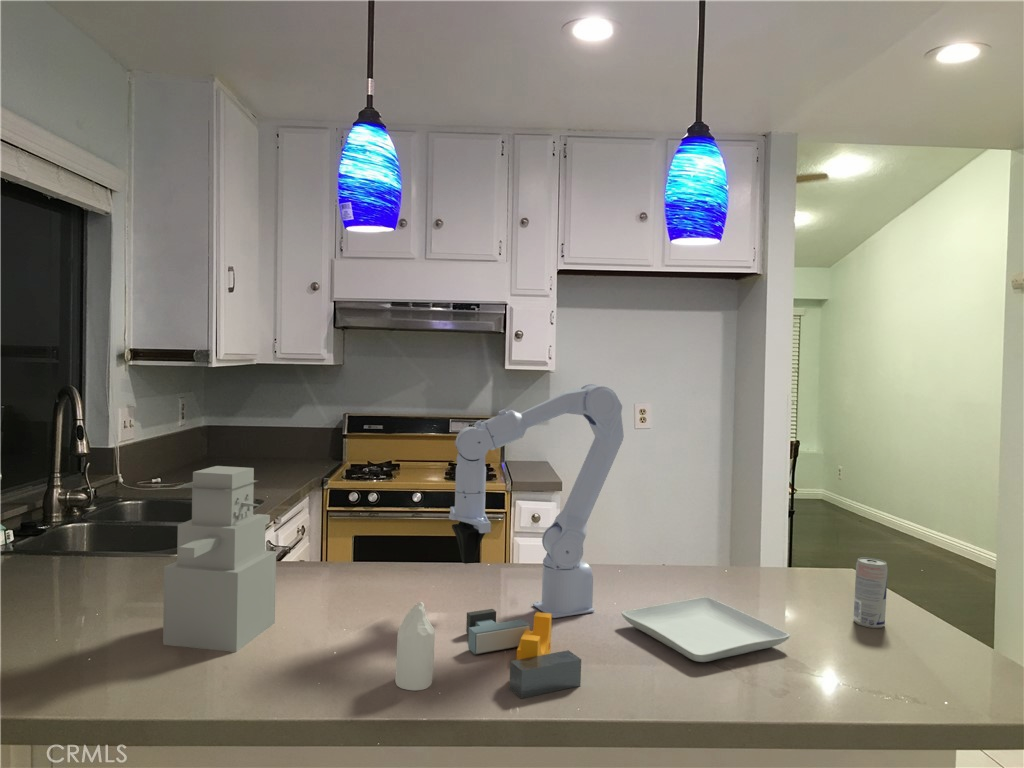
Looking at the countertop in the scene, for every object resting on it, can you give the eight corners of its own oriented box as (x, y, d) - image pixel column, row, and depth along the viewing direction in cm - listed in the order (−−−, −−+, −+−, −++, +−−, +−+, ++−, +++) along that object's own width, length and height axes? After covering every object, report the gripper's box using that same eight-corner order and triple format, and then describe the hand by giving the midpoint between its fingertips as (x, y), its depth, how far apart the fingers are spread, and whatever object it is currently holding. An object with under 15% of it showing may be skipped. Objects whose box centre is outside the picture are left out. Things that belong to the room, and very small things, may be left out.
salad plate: (697, 675, 113) (698, 653, 113) (617, 628, 132) (618, 609, 132) (793, 653, 123) (794, 633, 122) (706, 612, 141) (707, 595, 141)
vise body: (566, 674, 111) (567, 649, 111) (580, 685, 107) (581, 659, 107) (508, 686, 106) (509, 660, 106) (521, 698, 103) (521, 671, 102)
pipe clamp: (524, 648, 120) (526, 610, 120) (550, 652, 120) (551, 613, 119) (508, 679, 109) (509, 637, 109) (536, 683, 108) (537, 641, 108)
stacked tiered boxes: (139, 659, 112) (141, 479, 111) (223, 607, 135) (225, 458, 134) (216, 667, 110) (219, 484, 109) (288, 613, 133) (291, 462, 132)
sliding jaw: (504, 626, 129) (505, 606, 129) (529, 645, 121) (530, 625, 121) (452, 634, 125) (453, 614, 125) (475, 655, 116) (476, 634, 116)
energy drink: (884, 621, 138) (887, 559, 138) (885, 630, 133) (888, 566, 133) (853, 616, 141) (856, 555, 140) (853, 625, 136) (856, 562, 135)
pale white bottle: (391, 598, 107) (425, 593, 110) (389, 678, 108) (423, 670, 111) (407, 611, 102) (443, 605, 105) (405, 694, 103) (440, 685, 106)
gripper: (436, 485, 140) (434, 554, 141) (466, 499, 128) (464, 575, 128) (469, 483, 144) (467, 551, 144) (502, 497, 131) (499, 571, 131)
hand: (468, 562), depth 136 cm, fingers closed
